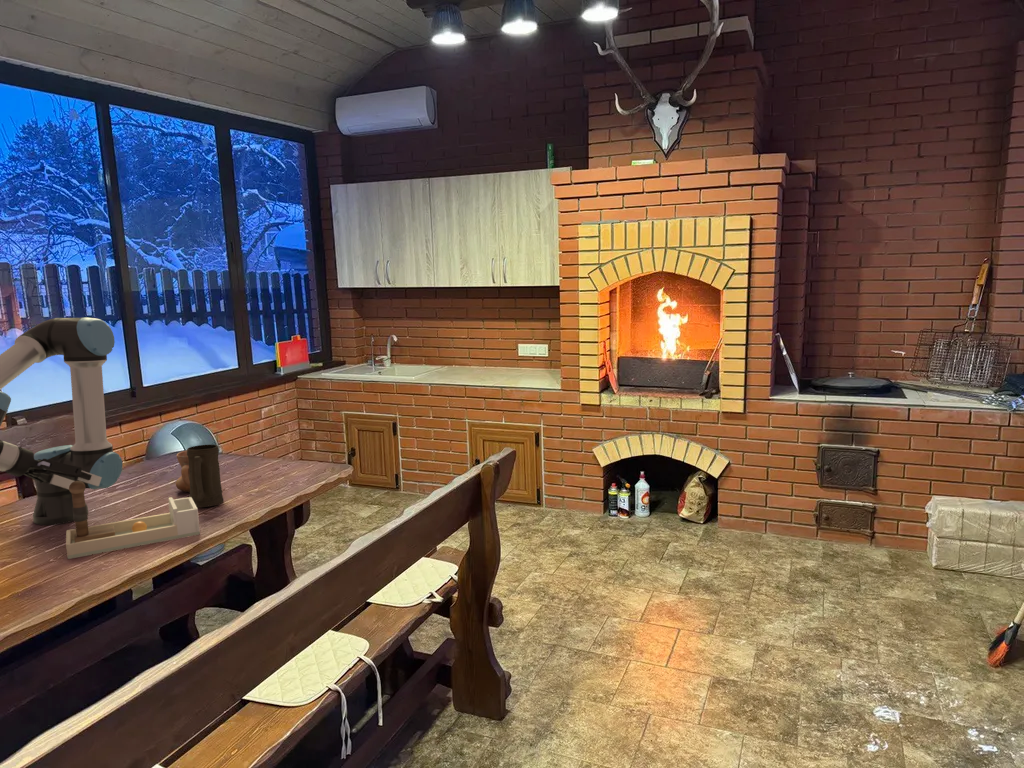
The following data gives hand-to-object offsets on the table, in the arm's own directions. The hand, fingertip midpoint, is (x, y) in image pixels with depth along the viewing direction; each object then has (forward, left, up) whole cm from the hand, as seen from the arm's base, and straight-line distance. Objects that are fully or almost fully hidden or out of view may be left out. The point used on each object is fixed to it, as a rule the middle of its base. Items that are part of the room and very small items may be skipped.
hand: (86, 483), depth 209 cm
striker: (+7, +1, -16) cm, 17 cm away
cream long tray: (+7, +11, -17) cm, 21 cm away
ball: (+7, +12, -14) cm, 20 cm away
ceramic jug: (-35, +34, -17) cm, 52 cm away
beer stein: (-14, +34, -17) cm, 41 cm away
